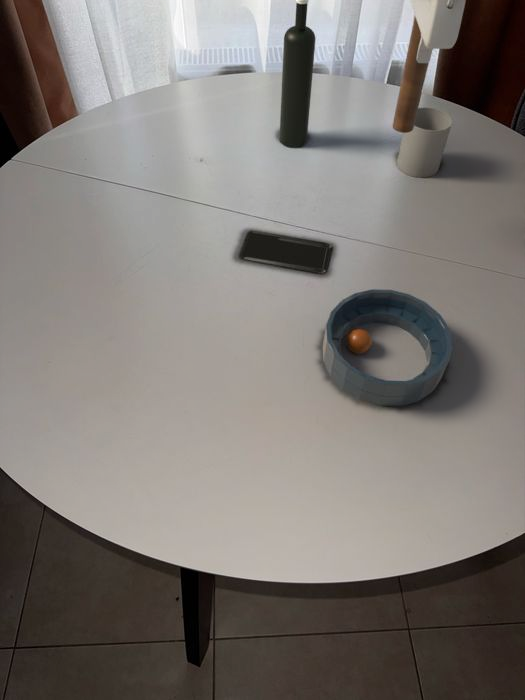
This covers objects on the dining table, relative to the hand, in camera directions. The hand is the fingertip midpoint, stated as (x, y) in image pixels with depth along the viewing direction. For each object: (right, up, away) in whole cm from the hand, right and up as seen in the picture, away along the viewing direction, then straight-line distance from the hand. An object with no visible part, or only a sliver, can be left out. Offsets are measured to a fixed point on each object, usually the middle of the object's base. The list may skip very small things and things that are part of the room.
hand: (419, 53), depth 80 cm
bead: (-8, -40, +4) cm, 41 cm away
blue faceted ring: (-4, -43, +5) cm, 43 cm away
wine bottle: (-15, +3, +42) cm, 44 cm away
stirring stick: (0, -7, +9) cm, 11 cm away
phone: (-18, -25, +19) cm, 36 cm away
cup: (+10, -4, +37) cm, 38 cm away
